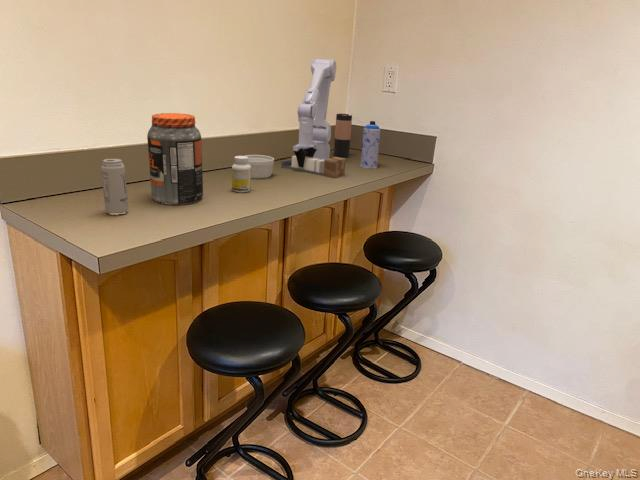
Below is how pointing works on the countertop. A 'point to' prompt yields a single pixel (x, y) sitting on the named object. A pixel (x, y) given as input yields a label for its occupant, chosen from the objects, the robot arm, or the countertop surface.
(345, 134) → the travel mug
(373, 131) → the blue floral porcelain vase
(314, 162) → the banded cream case
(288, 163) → the guide channel
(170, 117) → the supplement tub
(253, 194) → the countertop surface
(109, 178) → the energy drink can
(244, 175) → the pill bottle
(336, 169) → the socket block
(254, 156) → the ramekin
